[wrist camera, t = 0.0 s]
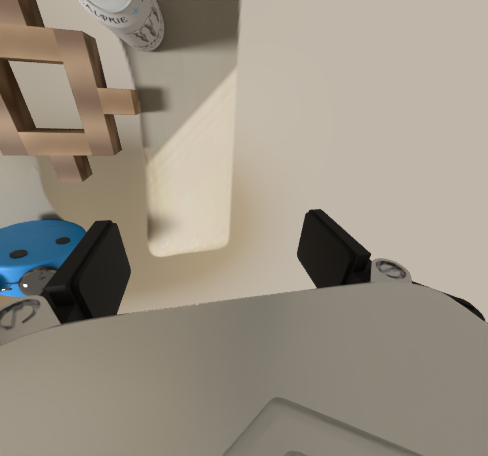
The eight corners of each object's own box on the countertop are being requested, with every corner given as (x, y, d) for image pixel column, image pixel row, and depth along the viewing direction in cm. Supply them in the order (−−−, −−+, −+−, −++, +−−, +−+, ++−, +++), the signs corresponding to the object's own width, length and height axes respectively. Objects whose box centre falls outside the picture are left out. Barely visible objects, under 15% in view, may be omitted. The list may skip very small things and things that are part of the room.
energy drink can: (150, 63, 31) (120, 42, 18) (106, 24, 28) (36, -33, 15) (174, 23, 29) (159, -32, 17) (130, -24, 26) (72, -133, 14)
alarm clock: (23, 243, 40) (-53, 310, 28) (12, 214, 37) (-78, 274, 25) (102, 246, 44) (66, 307, 31) (98, 220, 41) (57, 275, 28)
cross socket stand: (-106, -29, 23) (-157, -50, 19) (120, 0, 27) (110, -13, 24) (5, 175, 34) (-16, 183, 31) (151, 173, 38) (147, 180, 35)
